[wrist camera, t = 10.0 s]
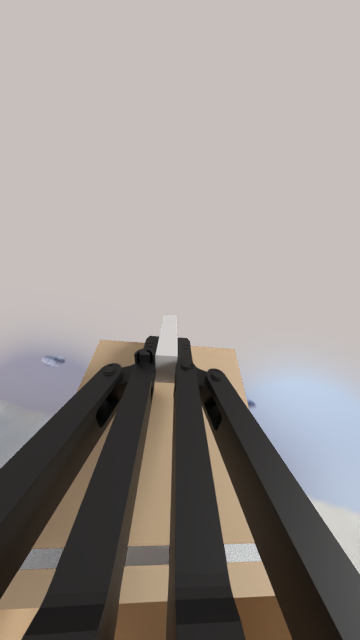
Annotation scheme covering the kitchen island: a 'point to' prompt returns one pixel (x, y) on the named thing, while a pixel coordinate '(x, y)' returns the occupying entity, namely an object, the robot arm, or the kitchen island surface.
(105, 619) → the robot arm
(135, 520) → the front flap
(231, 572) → the carton
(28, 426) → the kitchen island surface
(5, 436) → the kitchen island surface
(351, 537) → the kitchen island surface
